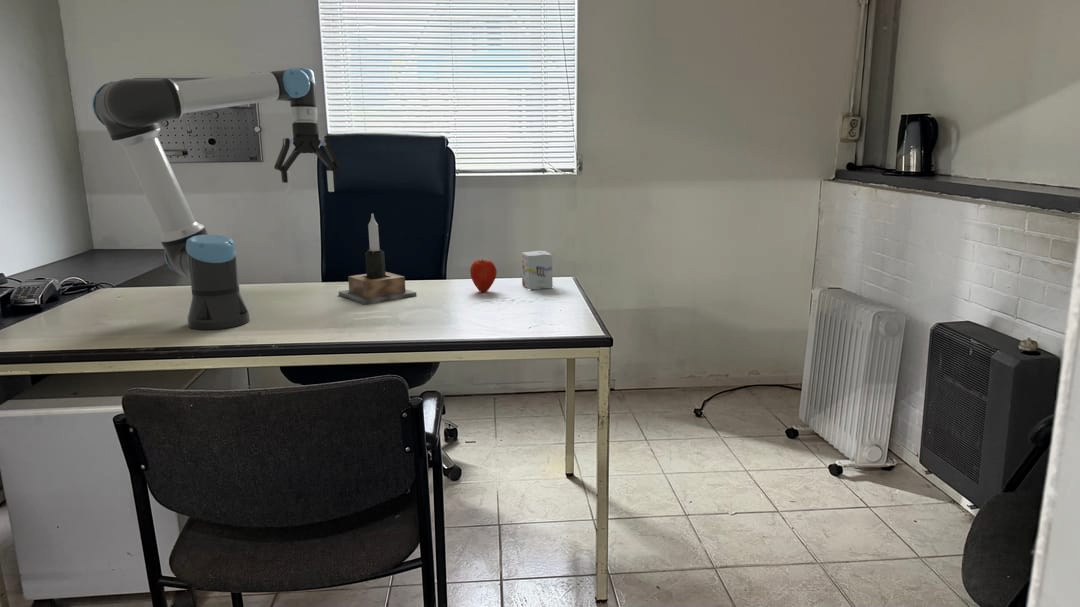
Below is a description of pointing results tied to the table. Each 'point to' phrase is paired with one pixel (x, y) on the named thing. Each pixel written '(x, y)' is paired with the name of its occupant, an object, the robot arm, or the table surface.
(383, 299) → the holder
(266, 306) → the table surface
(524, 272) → the ink box
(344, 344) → the table surface
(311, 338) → the table surface
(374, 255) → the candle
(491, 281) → the red strawberry
